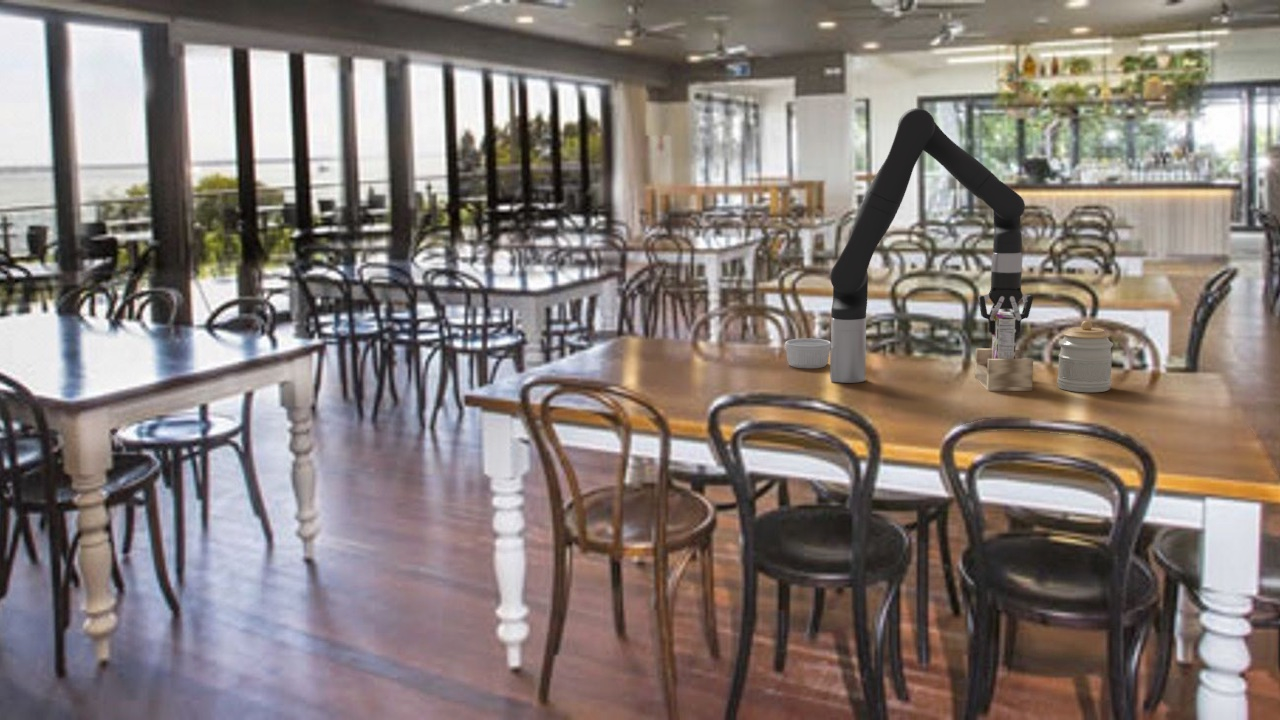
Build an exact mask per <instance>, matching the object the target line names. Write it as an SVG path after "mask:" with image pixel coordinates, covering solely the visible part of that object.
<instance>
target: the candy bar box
mask: <svg viewBox="0 0 1280 720" xmlns="http://www.w3.org/2000/svg"><path fill="white" fill-rule="evenodd" d="M1016 319H1017V318H1016V317H1015V316H1014V315H1013V312H1012V311H998V313H997V315H996V317H995V319H994V321H995V335H992V340H991V341H992V345H991V348H992V359H1015V348H1016V346H1017V345H1016V340H1017V339H1016V338H1017V335H1016Z"/></svg>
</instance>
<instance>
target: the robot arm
mask: <svg viewBox="0 0 1280 720" xmlns="http://www.w3.org/2000/svg"><path fill="white" fill-rule="evenodd" d="M923 152H925V153H927V155H929V156H931V157H932V158H933V159H934V160H936V161H937V162H938V163H939V164H940V165H941V166H942V167H943V168H944V169H945V170H946V171H947V172H948V173H949V174H950V175H951V176H952V177H954V178H955V180H956V181H957V182H959V183H960V184H961V185H962V186H963V188H964V187H965V189H967V190H968V192H970V193H971V194H973V195H974V196H975V197H976V198H978V199H980V200H981V201H983V202H984V203H985V204H986V205H987V206H988V207H990V209H991V210H992V211H993V213H992V214H993V215H992V216H993V229H994V231H993V232H994V233H993V248H992V250H993V251H992V257H991V265H990V269H991V270H990V271H991V272H990V273H991V274H990V275H991V276H990V290H989V293H988V294H979V295H978V296H977V299H978V306H979V311H980V315H981V317H982V318H984V319H986V320H987V322H988V323H987V330H988V333H990V335H991V336H993V335H995V321H994V319H995V317H996V315H997V313H998V312H1000V310H1004V309H1008V310H1011V312H1012V314H1013V315H1014V316H1015V317H1016V318H1017V319H1016V336H1018V333H1020V332H1021V322H1022V320H1023V319H1029V315H1030V311H1031V310H1032V304H1033V300H1034V296H1033V295H1030V294H1023V292H1022V273H1023V271H1022V270H1023V257H1022V248H1023V247H1022V244H1023V235H1022V231H1021V216H1022V215H1024V212H1025V209H1026V206H1025V205H1026V203H1025V201H1024V199H1023V197H1022V196H1021V195H1020V194H1019V193H1017V192H1016V191H1015V190H1014V189H1012V188H1011V187H1010V186H1008V185H1007V184H1005V183H1004V182H1002V181H1001V180H1000V179H999V178H998V177H997V176H996V175H995V174H994V173H993V172H991V170H989V169H988V168H987V166H985V165H984V164H982V163H981V162H980V161H979V160H977V158H975V157H974V156H972V155H971V154H970V153H968V152H967V151H966V150H964V149H963V148H962V147H960V146H959V145H957V143H955V142H954V141H953V140H952V139H951V138H950V137H949V136H948V135H946V133H944V132H943V130H942V129H941V128H940V126H939V125H938V124H937V123H936V122H935V118H934V117H933V116H932V114H931V113H930V112H929V111H928V110H926V109H923V108H920V107H918V108H911V109H909V110H907V111H905V112H904V113H903V114H902V115H901V116H900V118H899V120H898V124H897V129H896V133H895V135H894V138H893V142H892V144H891V146H890V149H889V152H888V155H886V159H885V160H884V162H883V164H882V165H881V167H880V168H879V169H878V171H877V173H876V174H875V176H874V178H873V180H872V182H871V183H870V185H869V187H868V188H867V189H868V190H867V191H866V194H865V196H864V198H863V201H862V204H861V206H860V208H859V210H858V213H857V216H856V218H855V221H854V224H853V227H852V231H851V234H850V236H849V238H848V241H847V242H846V245H845V246H844V248H843V250H842V252H841V253H840V256H839V257H838V259H837V261H836V262H835V264H834V265H833V267H832V268H831V271H830V276H829V277H830V282H831V286H832V287H833V288H832V290H833V291H832V296H833V297H832V305H831V318H830V319H831V321H830V322H831V328H830V330H831V331H830V340H831V341H830V342H831V345H830V351H829V357H830V358H829V359H830V360H829V363H830V365H829V375H830V376H829V378H830V381H831V382H832V383H842V384H855V383H857V384H858V383H862V382H865V381H866V354H867V353H866V350H867V348H866V346H867V341H866V340H867V336H866V335H867V308H868V290H869V289H868V286H869V276H868V275H869V273H868V269H869V265H870V263H871V260H872V258H873V255H874V253H875V251H876V248H877V247H878V245H879V244H880V242H881V241H882V239H883V238H884V236H885V235H886V233H887V231H888V230H889V228H890V227H891V225H892V223H893V221H894V219H895V217H896V215H897V213H898V211H899V209H900V206H901V204H902V202H903V199H904V197H905V194H906V192H907V189H908V186H909V183H910V180H911V177H912V174H913V171H914V168H915V166H916V164H917V162H918V160H919V158H920V156H921V155H922V153H923ZM989 300H990V301H991V302H992V303H993V304H992V306H991V308H990V311H989V313H988V309H987V306H986V304H987V303H988V301H989ZM1021 300H1022V302H1023V309H1022V312H1021V313H1020V309H1019V307H1018V303H1020V301H1021Z"/></svg>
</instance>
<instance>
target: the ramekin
mask: <svg viewBox="0 0 1280 720" xmlns="http://www.w3.org/2000/svg"><path fill="white" fill-rule="evenodd" d="M784 345H785V349H786V350H785V351H786V359H787V363H788V364H789V366H791V367H793V368H798V369H819V368H823V367H826V365H828V362H829V359H830V358H829V357H830V345H831V341H830V340H827V339H820V338H794V339H789V340H786V341H785V344H784Z"/></svg>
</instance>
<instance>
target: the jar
mask: <svg viewBox="0 0 1280 720" xmlns="http://www.w3.org/2000/svg"><path fill="white" fill-rule="evenodd" d="M1062 335H1063V336H1064V337H1063V339H1061V340H1059V342H1058V344H1059V346H1060V352H1059V354H1058V355H1057V356H1058V370H1057V371H1058V375H1057V378H1056V381H1057V386H1058V388H1059V389H1061V390H1063V391H1064V390H1065V391H1070V392H1076V393H1102V392H1103V393H1104V392H1107V391H1109V390H1110V389H1111V385H1112V376H1111V375H1112V362H1113V361H1112V360H1113V355H1112V353H1111V352H1112V351H1111V348H1112V347H1113V346H1114V343H1113V342H1112V341H1110V339H1109V337H1111V334H1110V333H1109V332H1107V331H1105V329H1103V328H1099V327H1093V323H1092V321H1090V320H1083V321H1081V325H1080V326H1078V327H1077V326H1076V327H1070V328H1068V329H1067V330H1065V331H1064V332H1062Z"/></svg>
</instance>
